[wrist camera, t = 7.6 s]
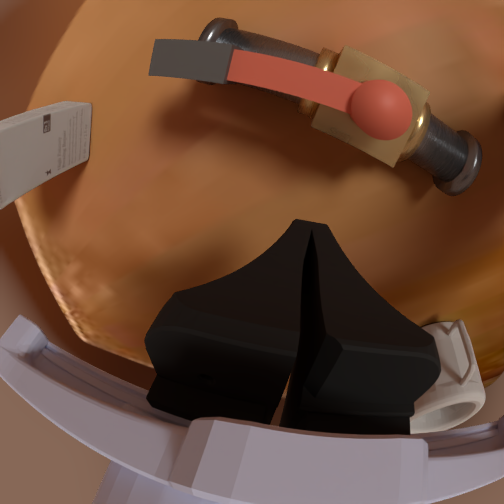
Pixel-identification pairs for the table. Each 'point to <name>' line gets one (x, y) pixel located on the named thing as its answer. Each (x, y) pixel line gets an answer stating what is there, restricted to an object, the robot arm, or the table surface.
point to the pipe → (426, 155)
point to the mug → (450, 382)
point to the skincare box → (42, 146)
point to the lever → (287, 82)
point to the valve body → (344, 127)
